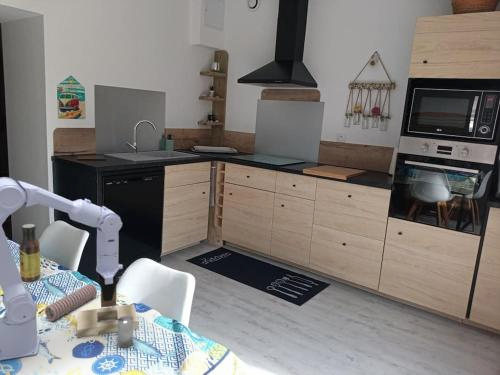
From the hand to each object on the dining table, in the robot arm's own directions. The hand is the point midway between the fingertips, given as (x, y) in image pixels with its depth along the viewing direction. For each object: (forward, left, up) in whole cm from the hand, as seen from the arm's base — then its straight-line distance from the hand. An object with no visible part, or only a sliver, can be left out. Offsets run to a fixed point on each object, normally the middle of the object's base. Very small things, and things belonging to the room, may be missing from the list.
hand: (107, 296), depth 109 cm
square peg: (0, 0, -2) cm, 2 cm away
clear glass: (+4, -11, -9) cm, 15 cm away
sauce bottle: (-24, +37, -9) cm, 45 cm away
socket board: (0, 0, -9) cm, 9 cm away
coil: (-10, +12, -9) cm, 18 cm away
